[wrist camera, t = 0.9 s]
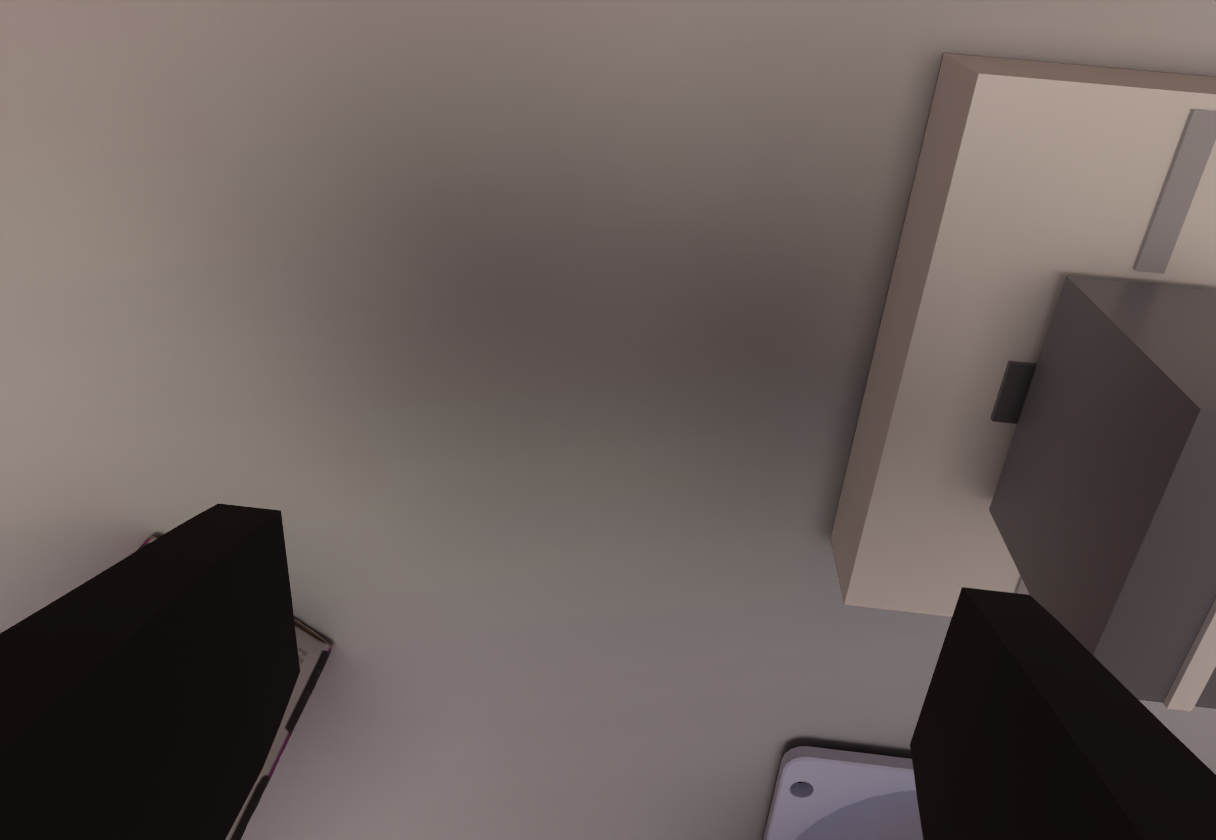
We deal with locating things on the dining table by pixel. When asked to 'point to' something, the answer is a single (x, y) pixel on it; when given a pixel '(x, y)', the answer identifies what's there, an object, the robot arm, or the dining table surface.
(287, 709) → the candy bar box
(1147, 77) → the console
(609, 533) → the dining table surface
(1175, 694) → the block
